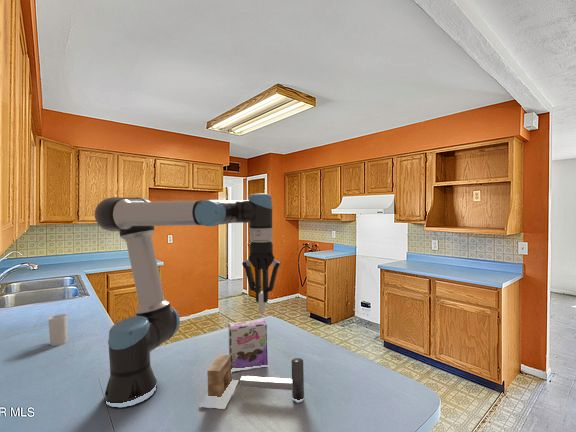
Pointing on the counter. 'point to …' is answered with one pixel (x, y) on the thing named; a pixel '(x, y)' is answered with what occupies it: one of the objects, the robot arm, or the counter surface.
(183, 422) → the counter surface
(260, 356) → the candy box
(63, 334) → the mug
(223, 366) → the eye block
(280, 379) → the hook rod
